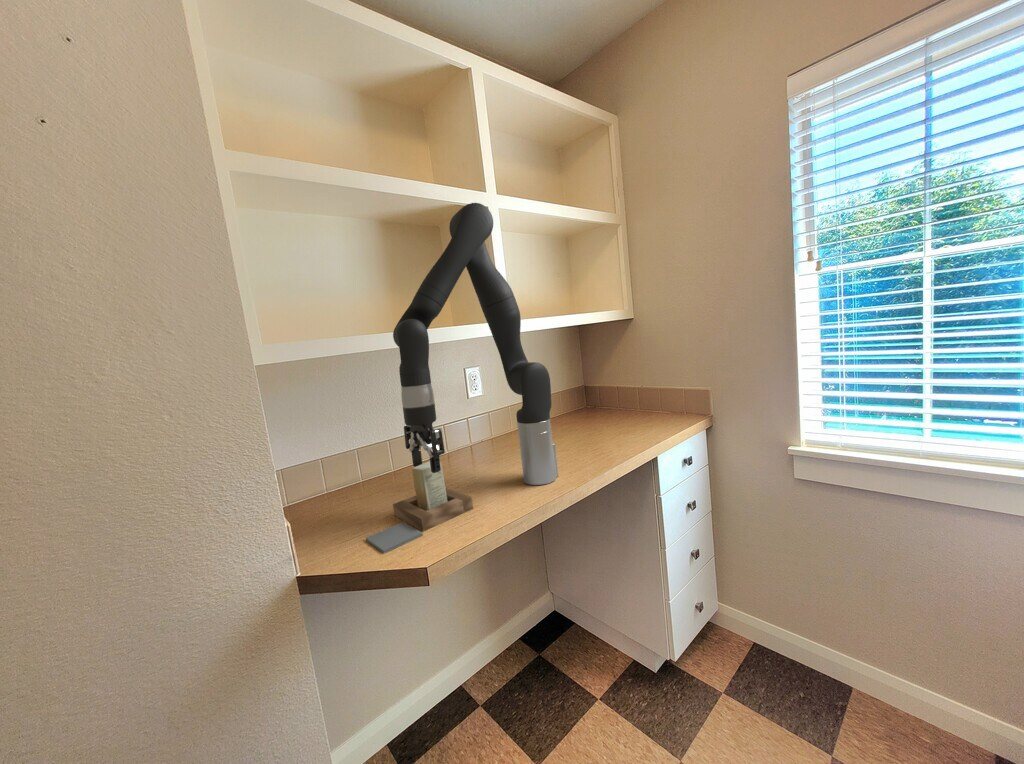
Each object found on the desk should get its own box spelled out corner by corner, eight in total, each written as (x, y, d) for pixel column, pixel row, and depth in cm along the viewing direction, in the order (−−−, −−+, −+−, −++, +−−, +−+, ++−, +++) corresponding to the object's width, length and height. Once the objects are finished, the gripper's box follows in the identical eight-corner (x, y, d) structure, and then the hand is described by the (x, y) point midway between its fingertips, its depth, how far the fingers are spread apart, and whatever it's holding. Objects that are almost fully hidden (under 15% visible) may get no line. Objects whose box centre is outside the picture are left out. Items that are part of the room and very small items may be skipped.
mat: (403, 524, 94) (402, 521, 94) (422, 535, 88) (422, 532, 87) (366, 540, 88) (365, 537, 88) (384, 553, 82) (383, 550, 81)
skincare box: (438, 505, 103) (431, 459, 102) (449, 508, 100) (442, 461, 99) (417, 515, 98) (410, 467, 97) (429, 519, 95) (422, 469, 94)
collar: (442, 496, 109) (440, 485, 109) (473, 508, 99) (471, 496, 98) (394, 515, 100) (392, 504, 99) (423, 531, 89) (421, 518, 89)
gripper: (448, 402, 93) (456, 469, 95) (417, 399, 104) (425, 460, 105) (419, 408, 88) (428, 479, 90) (390, 404, 99) (398, 468, 100)
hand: (426, 469), depth 98 cm, fingers open, 8 cm apart
